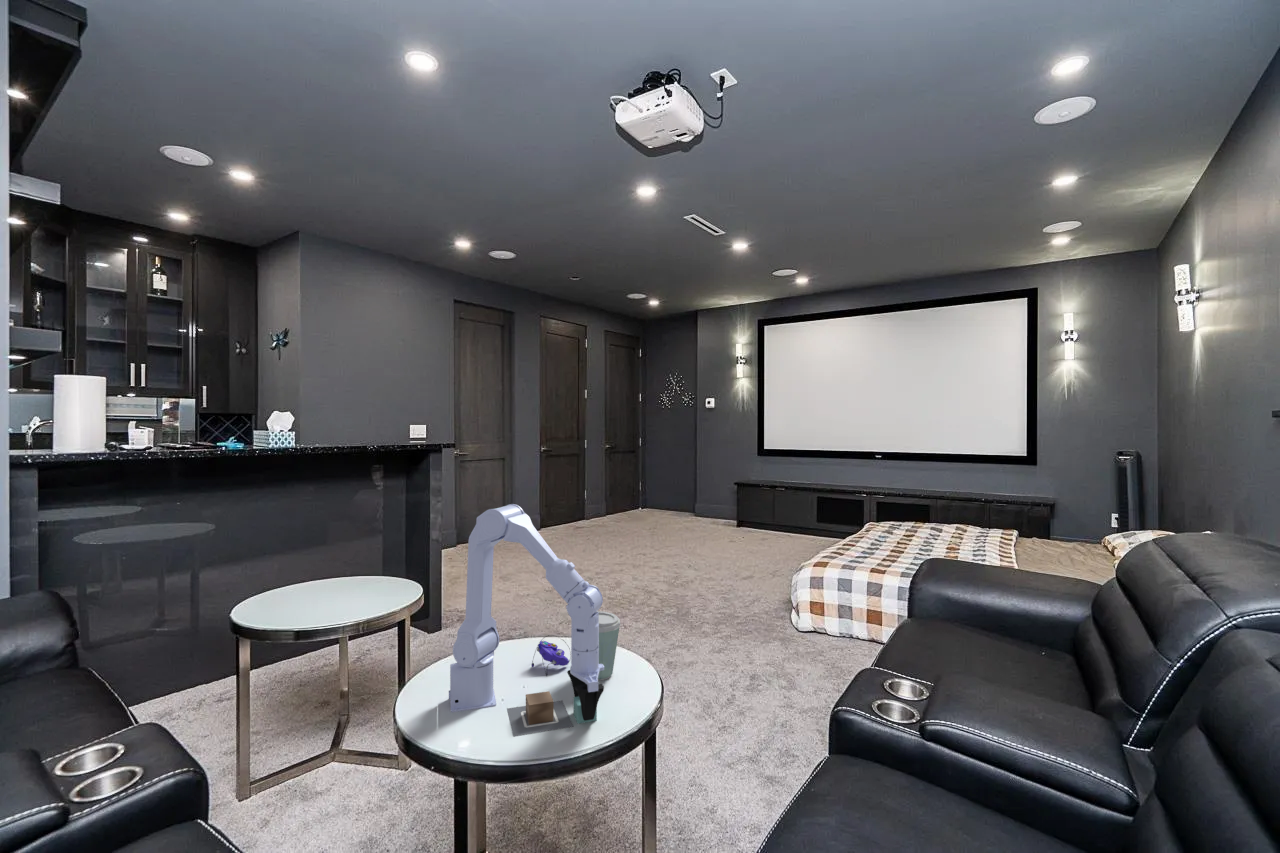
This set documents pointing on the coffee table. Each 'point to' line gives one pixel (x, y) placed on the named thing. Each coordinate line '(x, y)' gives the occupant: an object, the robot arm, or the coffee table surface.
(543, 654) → the game controller
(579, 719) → the teal cube
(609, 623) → the disposable coffee cup
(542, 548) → the robot arm
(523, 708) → the mat
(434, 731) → the coffee table surface
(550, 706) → the walnut block
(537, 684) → the coffee table surface
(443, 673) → the coffee table surface
